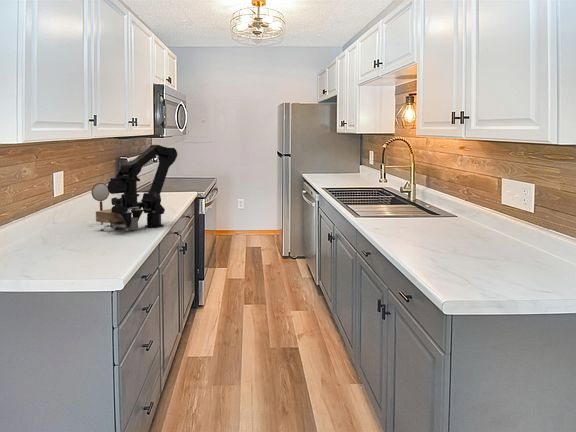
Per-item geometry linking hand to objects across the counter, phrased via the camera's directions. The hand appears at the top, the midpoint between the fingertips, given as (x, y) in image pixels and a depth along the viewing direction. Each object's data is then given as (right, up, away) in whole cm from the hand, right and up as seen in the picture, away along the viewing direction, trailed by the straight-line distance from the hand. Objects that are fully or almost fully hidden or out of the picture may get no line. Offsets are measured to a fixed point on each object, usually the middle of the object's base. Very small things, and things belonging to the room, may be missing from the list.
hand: (131, 226), depth 243 cm
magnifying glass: (-19, 0, +16) cm, 24 cm away
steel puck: (-10, -2, 0) cm, 10 cm away
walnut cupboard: (-10, -1, +4) cm, 11 cm away
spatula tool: (-4, -1, +2) cm, 5 cm away
